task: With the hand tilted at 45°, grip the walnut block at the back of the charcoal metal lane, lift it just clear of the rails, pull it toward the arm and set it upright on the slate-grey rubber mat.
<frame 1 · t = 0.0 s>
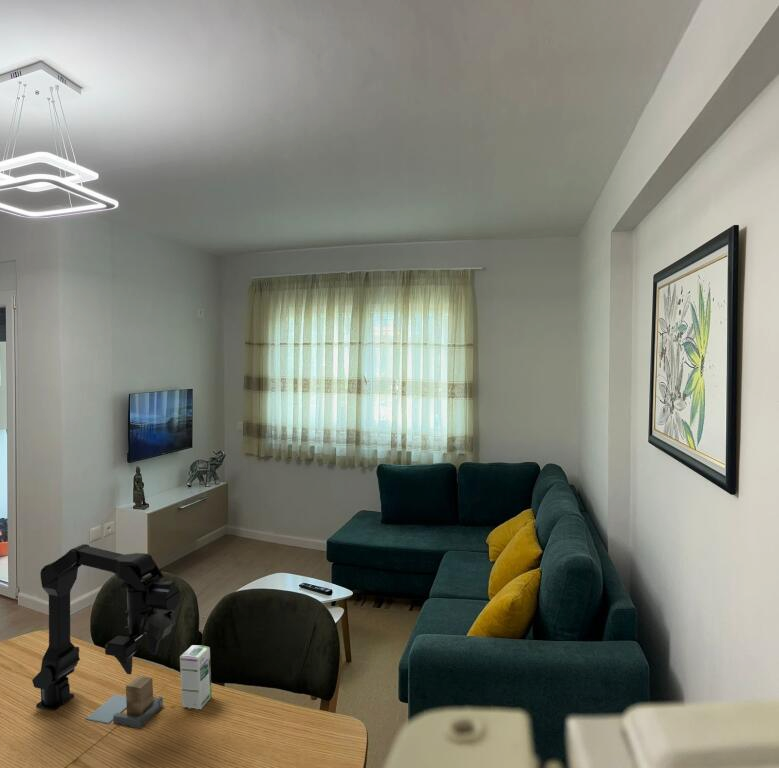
hand: (141, 663, 139), 15 cm above the table, tool pointing down, fingers open, 9 cm apart
walnut block: (140, 714, 141), resting in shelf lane
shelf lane: (138, 714, 141), on the table
syrup box: (196, 702, 146), on the table
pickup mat: (111, 709, 144), on the table
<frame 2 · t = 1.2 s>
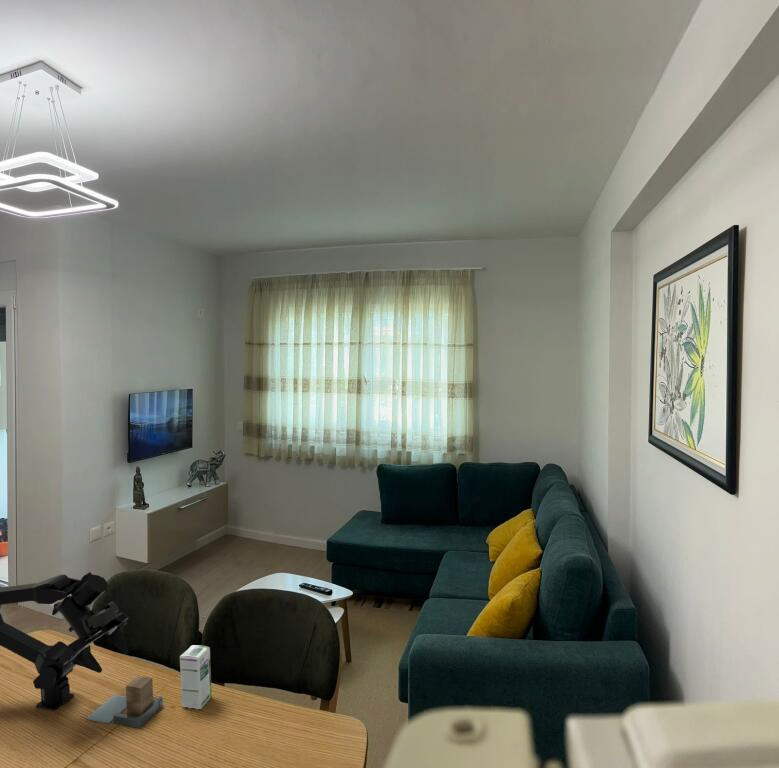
hand: (114, 661, 142), 13 cm above the table, tool tilted 45°, fingers open, 9 cm apart
nothing on the table moved.
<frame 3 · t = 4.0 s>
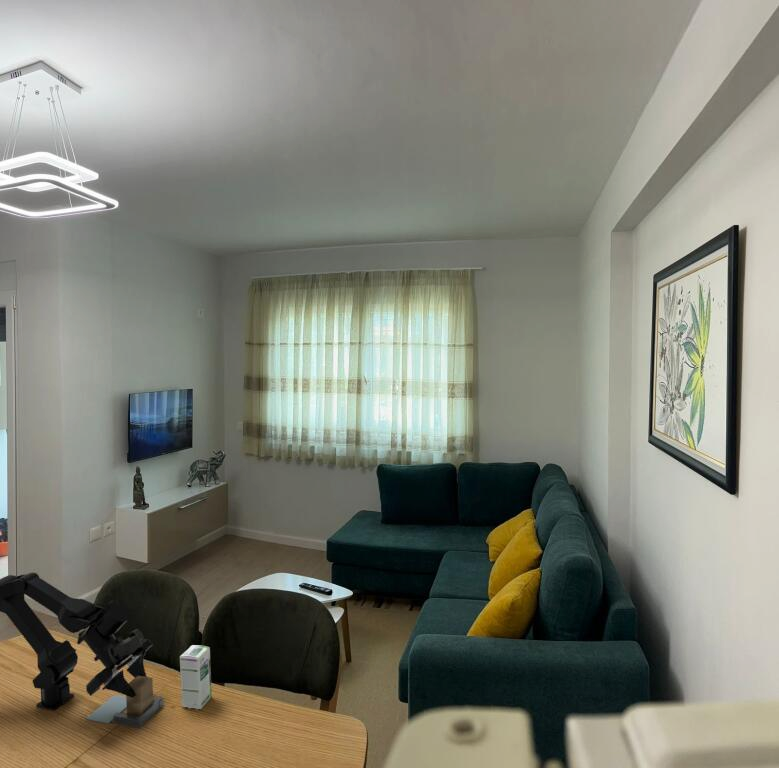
hand: (140, 690, 141), 7 cm above the table, tool tilted 45°, fingers closed on walnut block, 4 cm apart
walnut block: (140, 714, 141), resting in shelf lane, touching gripper
everything else where it was.
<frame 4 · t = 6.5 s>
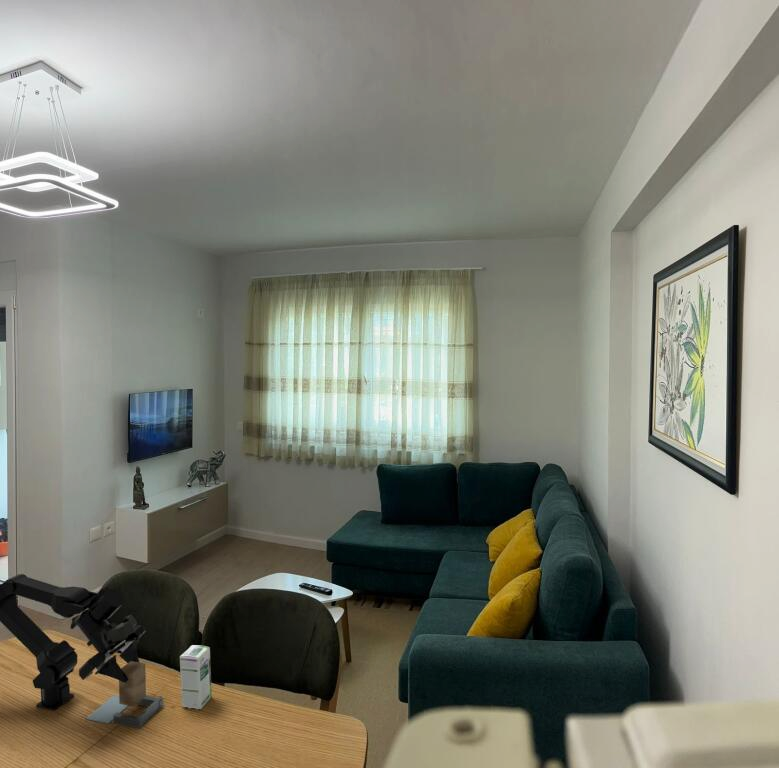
hand: (133, 675, 141), 10 cm above the table, tool tilted 45°, fingers closed on walnut block, 4 cm apart
walnut block: (132, 699, 142), point 4 cm above the table, touching gripper
everything else where it was.
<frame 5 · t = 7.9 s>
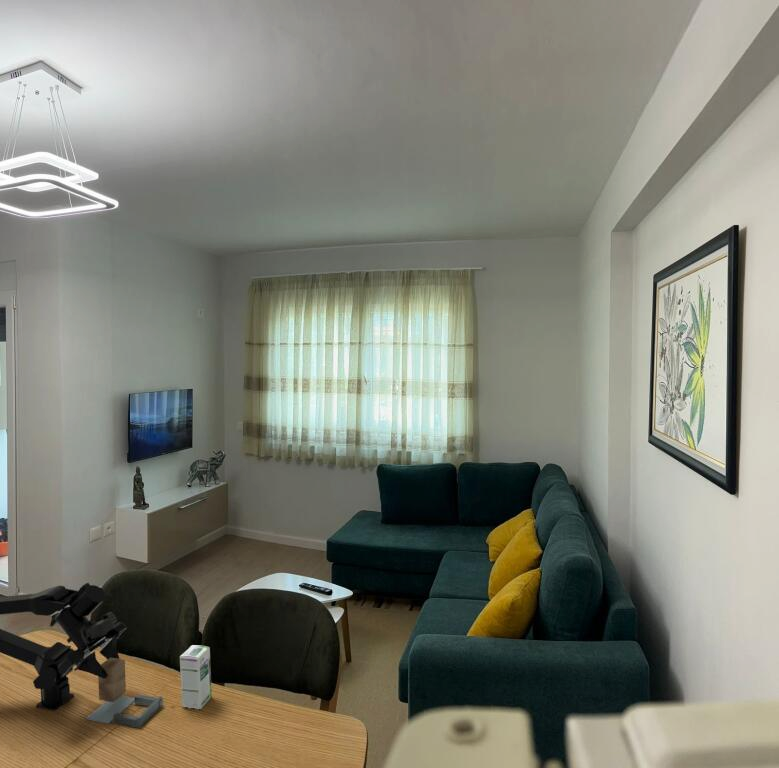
hand: (113, 672, 143), 10 cm above the table, tool tilted 45°, fingers closed on walnut block, 4 cm apart
walnut block: (112, 695, 143), point 4 cm above the table, touching gripper
everything else where it was.
when the fingers open (7 cm above the table, at t = 9.2 s): walnut block stays where it is, resting on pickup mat.
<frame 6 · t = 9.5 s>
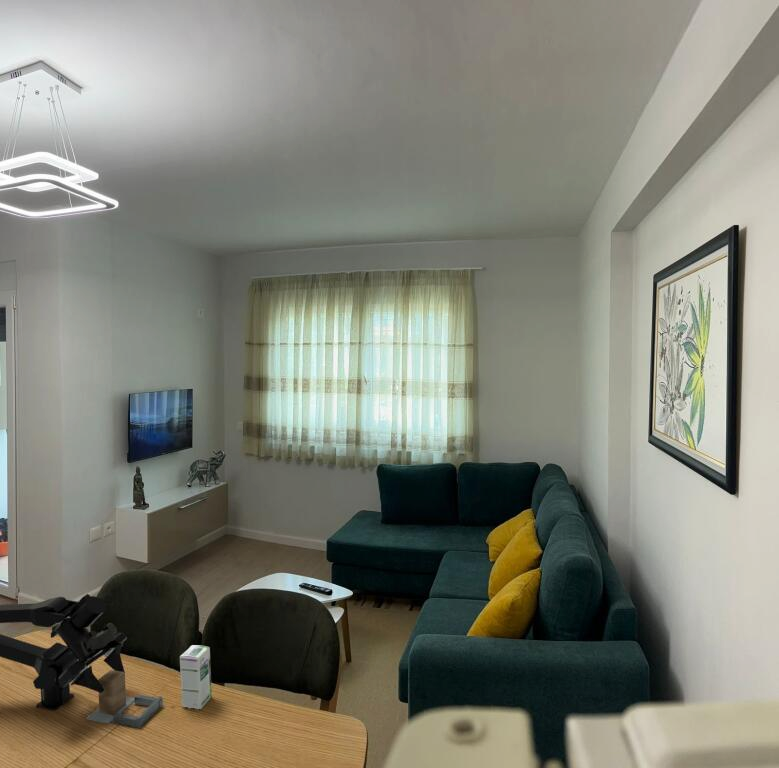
hand: (113, 683, 143), 7 cm above the table, tool tilted 45°, fingers open, 7 cm apart
walnut block: (112, 708, 143), resting on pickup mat
everything else where it was.
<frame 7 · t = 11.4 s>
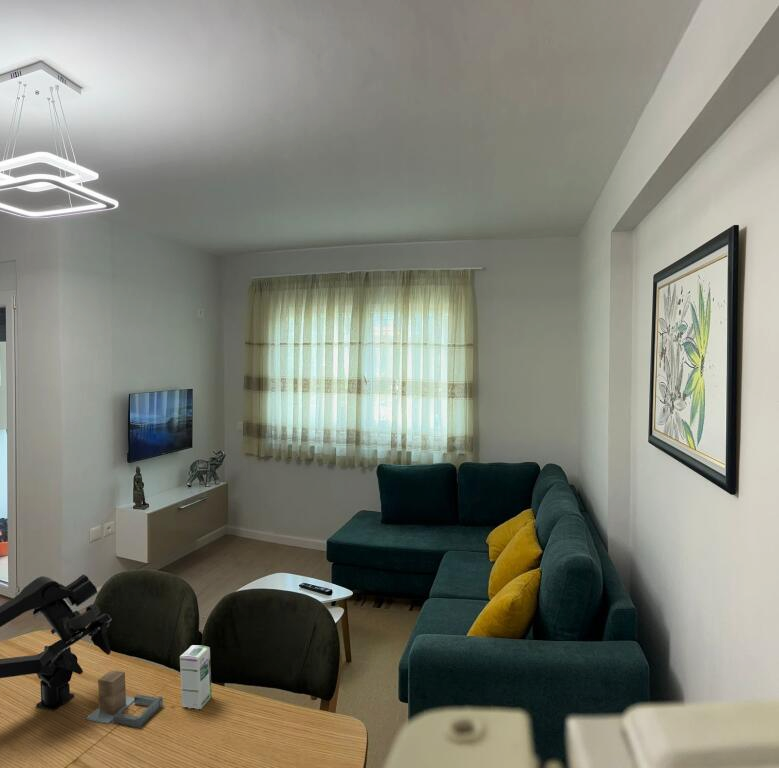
hand: (96, 663, 143), 12 cm above the table, tool tilted 45°, fingers open, 9 cm apart
nothing on the table moved.
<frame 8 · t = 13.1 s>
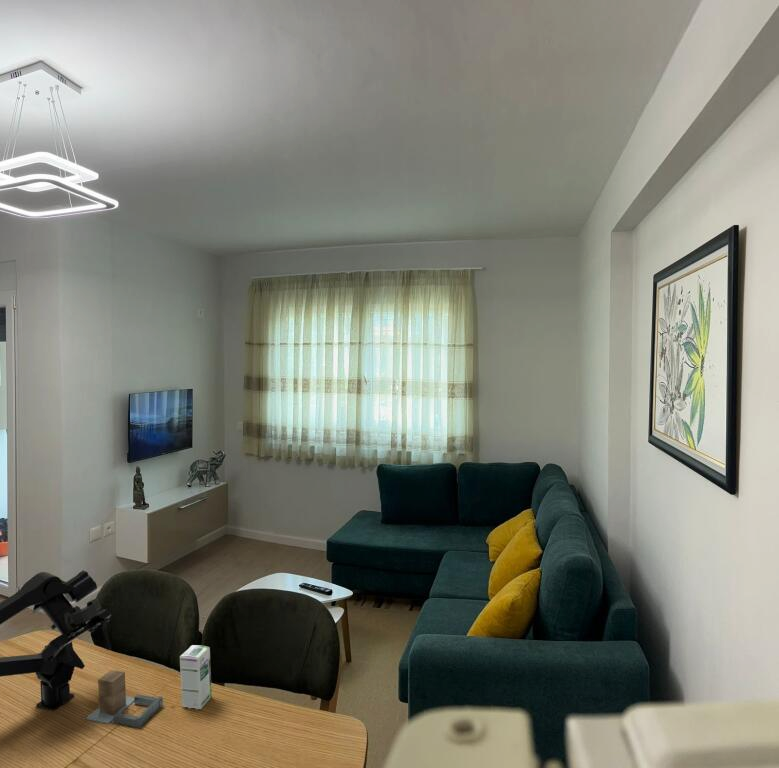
hand: (97, 658, 144), 14 cm above the table, tool tilted 45°, fingers open, 9 cm apart
nothing on the table moved.
at the end: walnut block inside the target area (0.1 cm from its centre), resting on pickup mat; walnut block tilted 0°; the gripper is holding nothing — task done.
